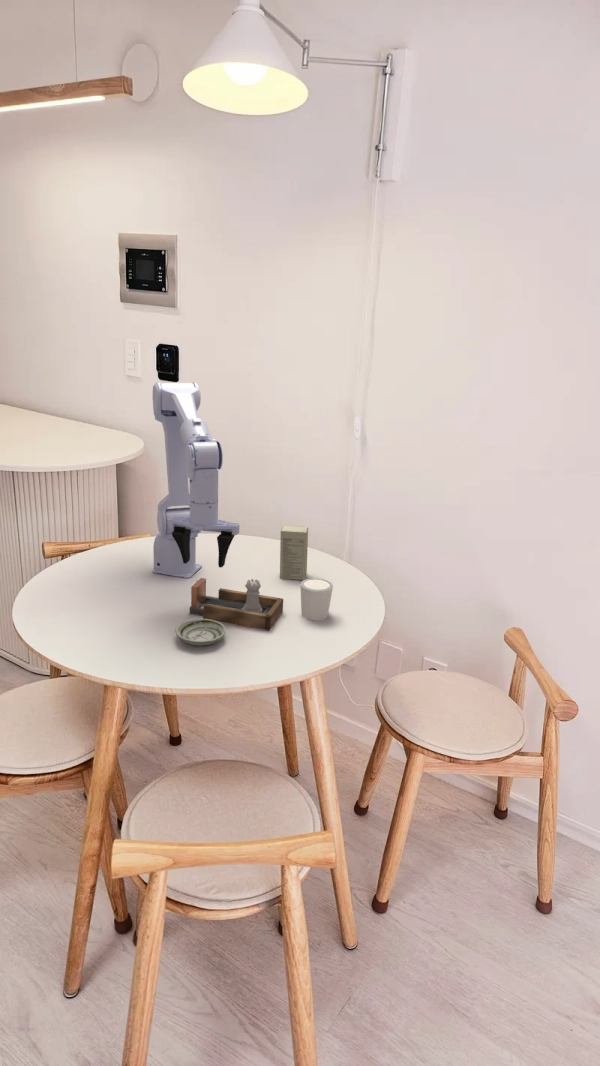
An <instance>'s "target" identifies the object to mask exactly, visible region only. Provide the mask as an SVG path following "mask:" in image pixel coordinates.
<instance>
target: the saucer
mask: <svg viewBox="0 0 600 1066" xmlns="http://www.w3.org/2000/svg"><path fill="white" fill-rule="evenodd" d="M174 632H175V635H176V636H177V637H178V638H179V639H181V641H183V642H185V643H187V644H189V645H192V646H196V647H203V646H204V647H206V646H209V645H212V644H215V643H217V642H218V641H220V640H221V639H222V638H224V637H225V636H226V633H227V628H226V627H225V625H224V623H222V622H218V621H215V620H211V619H203V618H193V619H186V620H185V621H182V622H180V623H179V624H177V626H176V628H175V631H174Z"/></svg>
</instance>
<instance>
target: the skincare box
mask: <svg viewBox="0 0 600 1066" xmlns="http://www.w3.org/2000/svg"><path fill="white" fill-rule="evenodd" d="M308 542H309V526H299V525H282V527H281V529H280V543H279V545H280V550H279V579H282V580H296V581H303V580H305V579H307V574H308V573H307V572H308V545H309V543H308Z"/></svg>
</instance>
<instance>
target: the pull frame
mask: <svg viewBox="0 0 600 1066" xmlns="http://www.w3.org/2000/svg"><path fill="white" fill-rule="evenodd" d="M190 591H191V592H190V596H191V597H190V599H191V605H190V607H189V614H194V615H200V616H203V605H204V604H211V605H217V606H223V607H229V608H234V609H240V610H242V609H243V607H244V605H245V604H246V602H240V601H234V600H229V599H223V598H218V597H217V596H210V595H207V578H204V577H200V578H199V579H198V580H197V581H196V582H195V583H193V584H192V586H191V590H190ZM260 606H261V608H262V614H267V613H268V612H269V611H270V609H271V608H272V607H270V606H264V605H260Z"/></svg>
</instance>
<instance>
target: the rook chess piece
mask: <svg viewBox="0 0 600 1066" xmlns="http://www.w3.org/2000/svg"><path fill="white" fill-rule="evenodd" d="M244 586H245V588H246V591H245V592H246V593H247V599H246V604H245V605H244V607H243V609H241V610H245V611H251V612H256V613H262V614H263V612H262V608H261V606H260V604H259V595H260V593H261V592H260V591H259V590H260V588H261V587H262V585H261V584H260V580H259V579H254V578H251V579H248V580H247V581H246V584H245V585H244Z"/></svg>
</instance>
